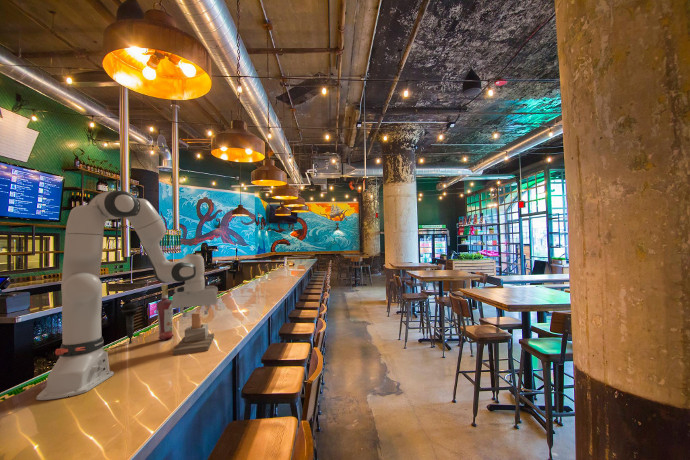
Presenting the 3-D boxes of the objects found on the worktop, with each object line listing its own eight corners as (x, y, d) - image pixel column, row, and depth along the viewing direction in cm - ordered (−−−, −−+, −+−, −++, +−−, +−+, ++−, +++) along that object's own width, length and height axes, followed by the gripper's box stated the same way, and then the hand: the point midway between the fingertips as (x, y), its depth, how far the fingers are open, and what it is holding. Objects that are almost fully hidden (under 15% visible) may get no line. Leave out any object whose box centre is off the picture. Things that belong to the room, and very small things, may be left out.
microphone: (123, 342, 160) (122, 303, 161) (139, 340, 163) (138, 301, 164) (120, 346, 154) (119, 305, 155) (137, 344, 157) (136, 303, 158)
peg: (201, 338, 153) (200, 313, 154) (192, 340, 152) (191, 314, 152) (201, 336, 157) (200, 312, 157) (192, 337, 155) (191, 313, 156)
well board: (207, 350, 141) (207, 333, 141) (172, 355, 137) (172, 337, 137) (214, 337, 162) (213, 322, 162) (184, 340, 158) (183, 325, 158)
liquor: (169, 341, 159) (167, 285, 160) (154, 341, 160) (152, 285, 161) (177, 336, 167) (175, 283, 168) (163, 337, 167) (161, 284, 168)
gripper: (217, 284, 162) (218, 311, 161) (172, 287, 155) (173, 316, 154) (217, 285, 156) (218, 314, 155) (170, 289, 149) (171, 319, 148)
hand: (195, 315), depth 155 cm, fingers open, 8 cm apart
